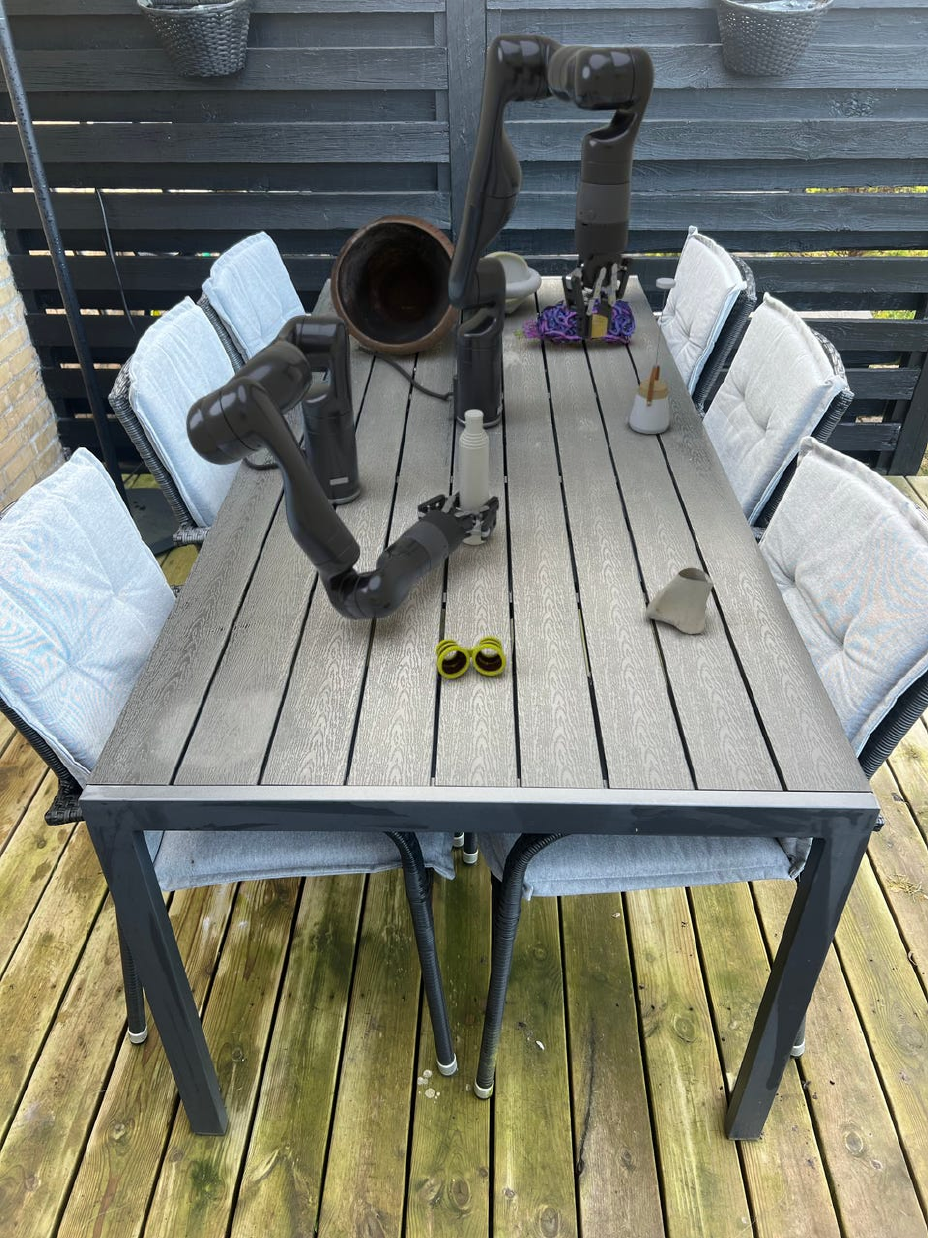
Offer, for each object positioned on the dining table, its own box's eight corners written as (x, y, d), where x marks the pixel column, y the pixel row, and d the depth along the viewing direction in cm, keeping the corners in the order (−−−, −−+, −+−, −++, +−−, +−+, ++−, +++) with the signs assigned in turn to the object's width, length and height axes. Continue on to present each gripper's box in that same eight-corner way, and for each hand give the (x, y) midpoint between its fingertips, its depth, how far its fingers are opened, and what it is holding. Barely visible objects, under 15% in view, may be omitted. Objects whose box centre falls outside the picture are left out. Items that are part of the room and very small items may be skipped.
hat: (455, 295, 261) (454, 240, 252) (532, 292, 263) (534, 237, 254) (465, 327, 242) (464, 268, 233) (548, 323, 244) (550, 264, 235)
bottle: (487, 529, 164) (488, 405, 150) (489, 544, 160) (490, 419, 146) (459, 530, 164) (457, 407, 149) (461, 545, 160) (459, 420, 145)
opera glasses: (501, 660, 136) (501, 629, 134) (506, 678, 131) (506, 646, 129) (435, 664, 136) (434, 634, 133) (438, 682, 131) (436, 651, 129)
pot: (366, 206, 239) (363, 182, 210) (477, 263, 245) (489, 246, 216) (317, 325, 245) (307, 317, 216) (426, 378, 251) (431, 377, 222)
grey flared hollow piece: (698, 626, 144) (712, 564, 142) (708, 640, 137) (723, 575, 134) (641, 618, 144) (654, 555, 142) (648, 632, 137) (662, 566, 134)
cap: (575, 330, 141) (576, 316, 140) (598, 326, 143) (599, 312, 141) (588, 339, 139) (589, 325, 137) (611, 335, 140) (612, 321, 138)
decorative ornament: (642, 323, 223) (518, 325, 220) (633, 359, 231) (514, 362, 228) (631, 290, 230) (511, 291, 228) (623, 326, 239) (508, 328, 236)
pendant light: (664, 436, 191) (684, 289, 173) (625, 431, 193) (640, 285, 175) (671, 420, 197) (691, 276, 179) (633, 414, 199) (649, 272, 181)
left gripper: (466, 535, 143) (519, 488, 154) (389, 510, 149) (446, 467, 160) (466, 575, 147) (518, 526, 159) (392, 550, 153) (447, 504, 165)
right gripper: (613, 199, 136) (604, 316, 147) (548, 218, 128) (543, 339, 139) (655, 209, 132) (642, 328, 142) (590, 228, 124) (581, 353, 135)
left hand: (482, 497), depth 159 cm, fingers closed on bottle, 5 cm apart
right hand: (593, 333), depth 141 cm, fingers closed on cap, 4 cm apart
